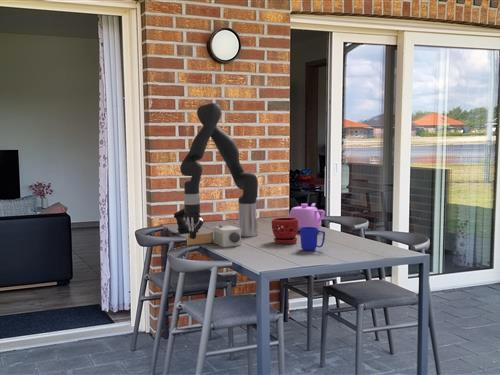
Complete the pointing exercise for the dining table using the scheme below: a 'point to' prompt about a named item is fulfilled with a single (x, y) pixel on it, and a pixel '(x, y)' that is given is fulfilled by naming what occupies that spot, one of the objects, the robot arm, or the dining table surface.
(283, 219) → the plant pot
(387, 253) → the dining table surface
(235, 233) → the camera body
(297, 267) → the dining table surface
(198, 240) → the tan wooden plank
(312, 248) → the mug
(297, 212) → the teapot
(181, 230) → the black ridged block
